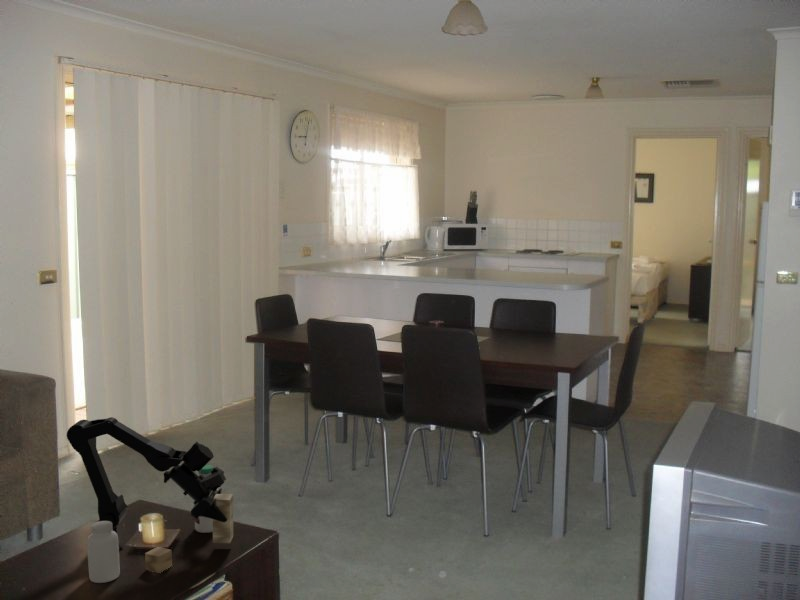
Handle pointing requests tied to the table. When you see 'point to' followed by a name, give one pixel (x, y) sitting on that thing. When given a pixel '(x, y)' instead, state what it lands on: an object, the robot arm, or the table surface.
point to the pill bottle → (103, 553)
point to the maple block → (223, 529)
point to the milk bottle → (202, 522)
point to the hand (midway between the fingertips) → (227, 517)
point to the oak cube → (158, 559)
